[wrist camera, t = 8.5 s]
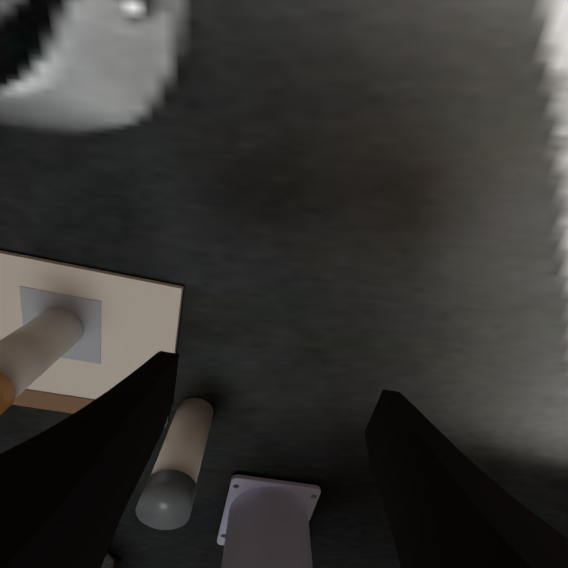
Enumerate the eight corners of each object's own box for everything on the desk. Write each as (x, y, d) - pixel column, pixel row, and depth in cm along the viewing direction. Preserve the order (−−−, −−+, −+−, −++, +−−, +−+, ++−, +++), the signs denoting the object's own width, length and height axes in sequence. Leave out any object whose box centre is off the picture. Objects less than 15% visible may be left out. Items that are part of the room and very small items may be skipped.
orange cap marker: (85, 349, 21) (-8, 440, 14) (39, 341, 21) (-79, 430, 14) (85, 311, 20) (-16, 390, 13) (36, 302, 20) (-92, 378, 13)
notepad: (167, 422, 24) (165, 427, 24) (-7, 395, 23) (-13, 400, 23) (183, 286, 20) (181, 289, 20) (-30, 244, 19) (-38, 246, 18)
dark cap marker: (211, 428, 25) (186, 532, 18) (174, 422, 25) (134, 526, 18) (217, 400, 24) (192, 499, 17) (178, 393, 23) (137, 491, 17)
